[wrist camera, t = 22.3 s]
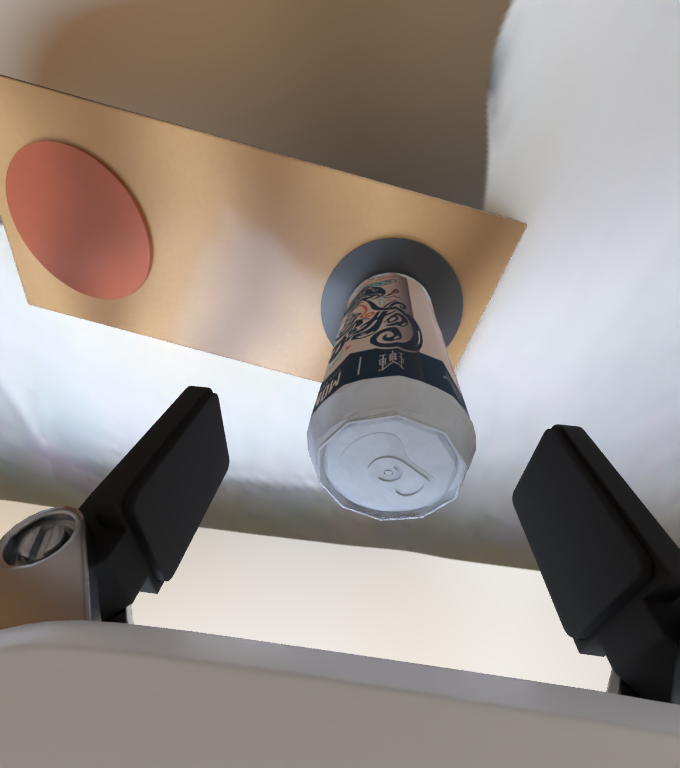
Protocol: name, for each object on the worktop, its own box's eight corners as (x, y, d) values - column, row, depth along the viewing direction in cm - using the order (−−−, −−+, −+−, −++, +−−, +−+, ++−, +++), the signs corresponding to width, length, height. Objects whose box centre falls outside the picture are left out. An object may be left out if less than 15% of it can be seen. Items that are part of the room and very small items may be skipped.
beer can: (385, 250, 17) (382, 360, 7) (450, 308, 18) (527, 475, 8) (330, 317, 19) (266, 473, 9) (390, 365, 20) (392, 549, 10)
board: (47, 297, 23) (23, 306, 22) (-15, 70, 16) (-56, 59, 15) (430, 400, 24) (433, 415, 22) (518, 220, 17) (530, 224, 16)
